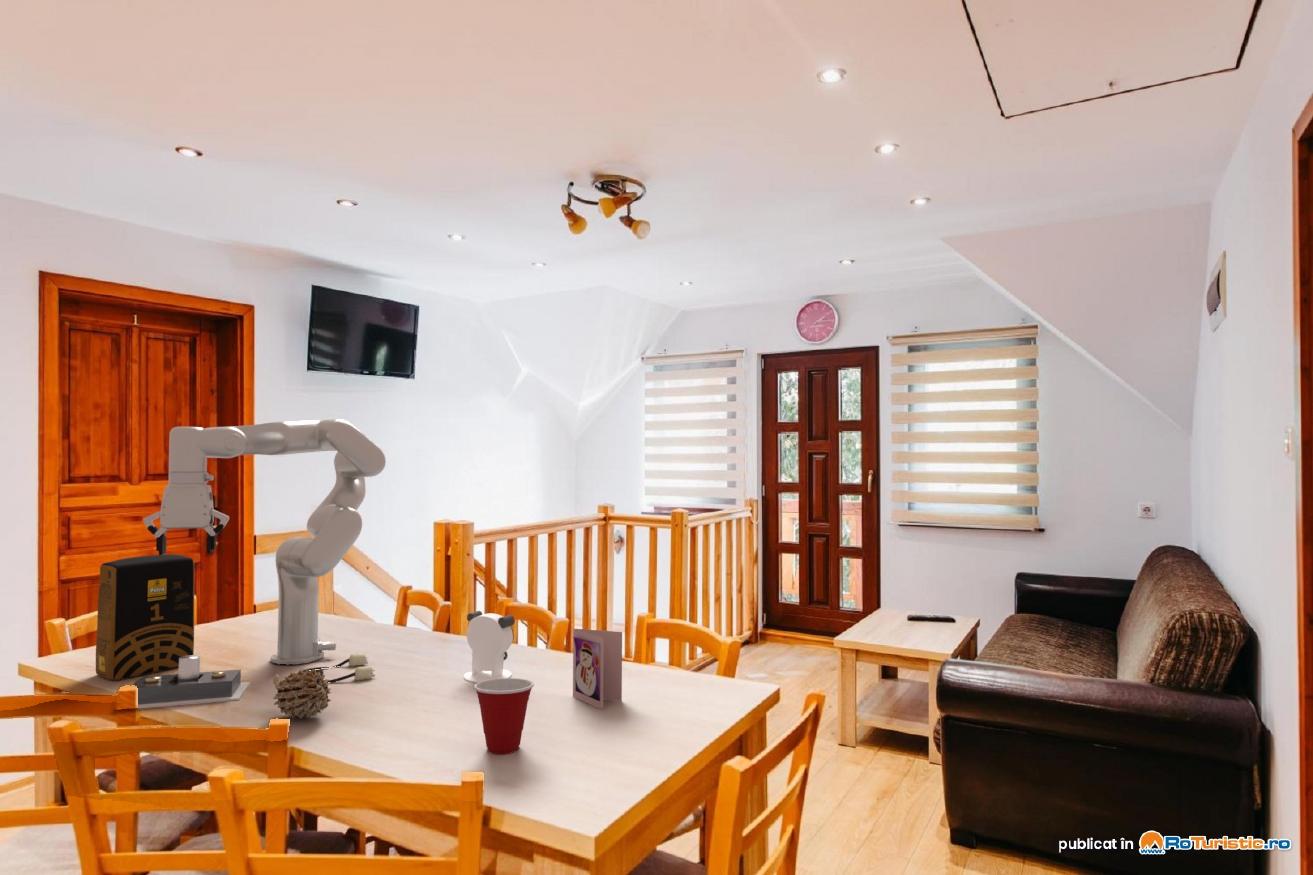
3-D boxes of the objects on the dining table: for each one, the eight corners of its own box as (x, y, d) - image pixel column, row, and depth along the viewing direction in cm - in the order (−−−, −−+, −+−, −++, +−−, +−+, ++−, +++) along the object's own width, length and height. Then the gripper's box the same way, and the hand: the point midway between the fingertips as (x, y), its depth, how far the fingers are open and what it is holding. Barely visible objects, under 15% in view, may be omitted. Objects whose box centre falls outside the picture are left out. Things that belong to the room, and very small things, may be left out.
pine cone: (344, 719, 151) (345, 669, 152) (297, 733, 144) (298, 681, 144) (290, 697, 165) (290, 651, 165) (244, 708, 157) (245, 661, 157)
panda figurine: (523, 673, 184) (523, 611, 184) (494, 686, 174) (495, 621, 174) (483, 667, 189) (484, 607, 189) (453, 679, 179) (454, 616, 179)
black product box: (198, 664, 190) (200, 553, 191) (110, 683, 174) (113, 562, 174) (177, 657, 196) (180, 550, 196) (90, 675, 180) (93, 558, 180)
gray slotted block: (240, 684, 172) (240, 665, 172) (231, 696, 164) (232, 676, 164) (141, 692, 166) (141, 673, 166) (126, 705, 157) (127, 684, 158)
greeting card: (569, 696, 166) (570, 628, 167) (596, 690, 171) (597, 624, 171) (599, 710, 158) (600, 638, 158) (627, 703, 162) (628, 633, 163)
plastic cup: (536, 736, 143) (537, 673, 143) (529, 759, 132) (529, 691, 132) (479, 737, 142) (480, 673, 143) (467, 760, 132) (467, 691, 132)
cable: (305, 690, 171) (305, 675, 171) (300, 672, 185) (300, 658, 185) (377, 680, 179) (377, 666, 179) (367, 664, 193) (367, 650, 193)
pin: (201, 691, 167) (203, 654, 168) (194, 696, 163) (196, 658, 164) (181, 691, 167) (183, 655, 167) (173, 696, 163) (175, 659, 163)
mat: (250, 683, 174) (250, 682, 174) (238, 699, 163) (239, 698, 163) (134, 693, 167) (134, 691, 167) (114, 710, 155) (114, 708, 155)
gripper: (233, 479, 181) (231, 550, 180) (149, 479, 175) (148, 552, 175) (226, 480, 174) (224, 554, 173) (138, 480, 168) (137, 556, 168)
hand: (186, 553), depth 174 cm, fingers open, 9 cm apart
